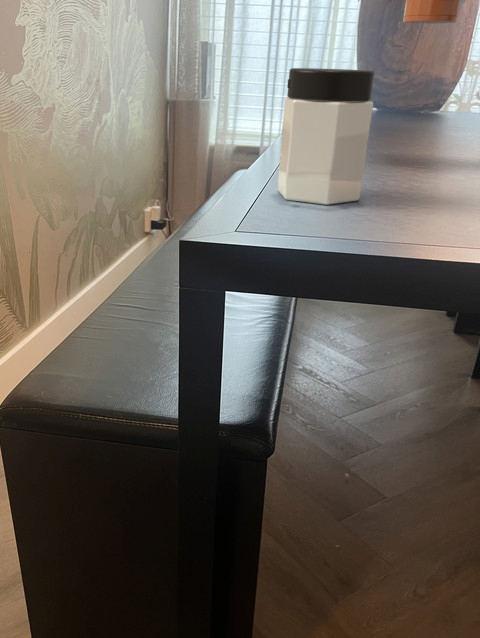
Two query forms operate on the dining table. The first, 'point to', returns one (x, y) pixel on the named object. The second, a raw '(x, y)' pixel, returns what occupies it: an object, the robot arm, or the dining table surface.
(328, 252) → the dining table surface
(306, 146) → the jar
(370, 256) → the dining table surface
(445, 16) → the pot
